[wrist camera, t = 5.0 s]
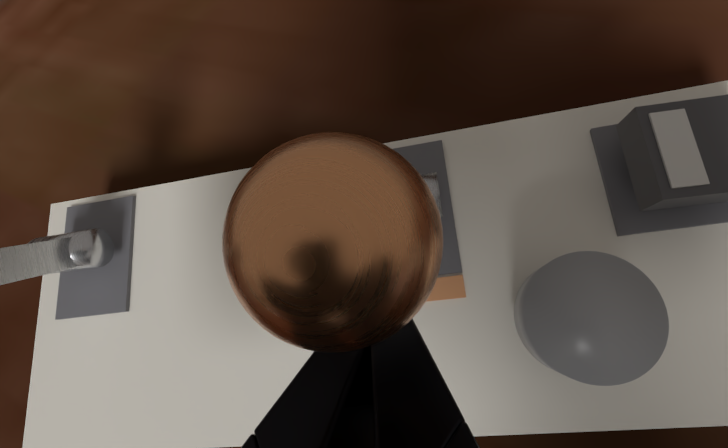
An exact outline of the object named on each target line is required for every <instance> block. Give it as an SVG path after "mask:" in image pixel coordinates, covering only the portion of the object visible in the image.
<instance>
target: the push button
mask: <svg viewBox="0 0 728 448" xmlns="http://www.w3.org/2000/svg"><path fill="white" fill-rule="evenodd" d="M514 321H515V326H516V330H517V332H518V335H519V337H520V339H521V341H522V343H523V344H524V346H525V347H526V348H527V350H528V351H529V352H530V353H531V354H532V355H533V356H534V357H535V358H536V359H537V360H538V361H539V362H541V363H542V364H544V365H545V366H547V367H549V368H550V369H552V370H554V371H556V372H559V373H561V374H563V375H565V376H567V377H569V378H571V379H574V380H576V381H579V382H582V383H586V384H590V385H597V386H613V385H620V384H624V383H628V382H630V381H633V380H635V379H637V378H639V377H641V376H642V375H644V374H645V373H647V372H648V371H649V370H650V369H651V368H652V367H653V366H654V365H655V364H656V363H657V362H658V360H659V359H660V357H661V355H662V354H663V352H664V349H665V347H666V344H667V340H668V334H669V319H668V314H667V309H666V306H665V303H664V300H663V298H662V296H661V295H660V293H659V291H658V289H657V288H656V286H655V285H654V284H653V282H652V281H651V280H650V279H649V278H648V277H647V276H646V275H645V274H644V273H643V272H642V271H641V270H640V269H638V268H637V267H635V266H634V265H633V264H631V263H629V262H627V261H625V260H624V259H621V258H619V257H617V256H614V255H611V254H607V253H602V252H597V251H578V252H573V253H568V254H565V255H562V256H560V257H557V258H555V259H553V260H552V261H550V262H549V263H547V264H546V265H544V266H542V267H541V268H539V269H538V270H536V271H535V272H533V273H532V274H531V275H530V276H529V277H528V278H527V279H526V280H525V281H524V282H523V284H522V285H521V287H520V289H519V291H518V293H517V296H516V299H515V304H514Z"/></svg>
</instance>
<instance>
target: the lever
mask: <svg viewBox="0 0 728 448" xmlns="http://www.w3.org/2000/svg"><path fill="white" fill-rule="evenodd" d="M113 255H114V244H113V240H112V238H111V237H110V235H109V234H108V233H107V232H106V231H104V230H102V229H98V228H94V229H88V230H82V231H76V232H70V233H64V234H58V235H52V236H46V237H40V238H35V239H33V240H31V241H30V242H29V243H28V244H25V245H18V246H12V247H5V248H0V285H3V284H7V283H11V282H15V281H19V280H23V279H27V278H31V277H36V276H40V275H47V274H54V273H61V272H67V271H74V270H81V269H88V268H95V267H102V266H105V265H107V264H108V263H109V262H110V261H111V259H112V258H113Z"/></svg>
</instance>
